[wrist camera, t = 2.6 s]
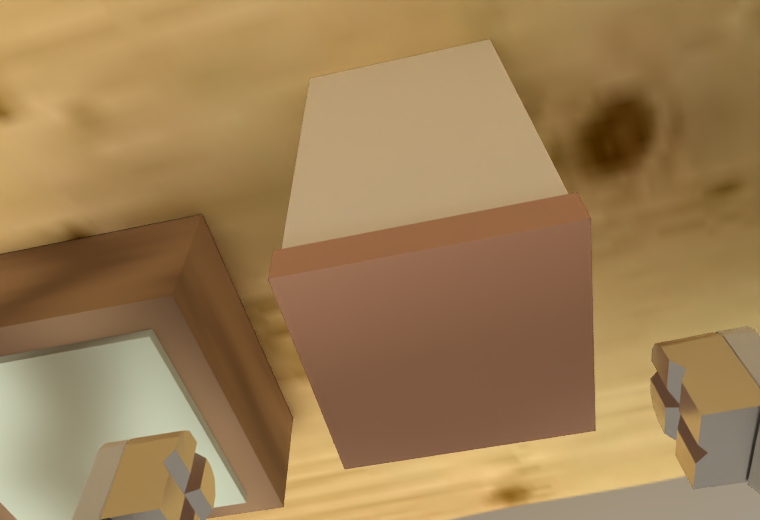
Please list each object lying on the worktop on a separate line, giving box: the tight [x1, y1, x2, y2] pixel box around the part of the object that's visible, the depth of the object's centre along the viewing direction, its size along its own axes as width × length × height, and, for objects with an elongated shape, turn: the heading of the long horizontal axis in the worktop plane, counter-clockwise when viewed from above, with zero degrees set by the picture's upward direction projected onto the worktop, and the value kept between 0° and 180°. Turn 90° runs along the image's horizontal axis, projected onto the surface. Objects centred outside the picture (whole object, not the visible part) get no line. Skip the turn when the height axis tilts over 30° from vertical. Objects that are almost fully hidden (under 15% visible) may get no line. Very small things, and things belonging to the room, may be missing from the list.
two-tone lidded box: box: [268, 39, 596, 469], centre depth 15 cm, size 5×5×9 cm
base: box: [0, 215, 293, 520], centre depth 22 cm, size 10×10×4 cm
